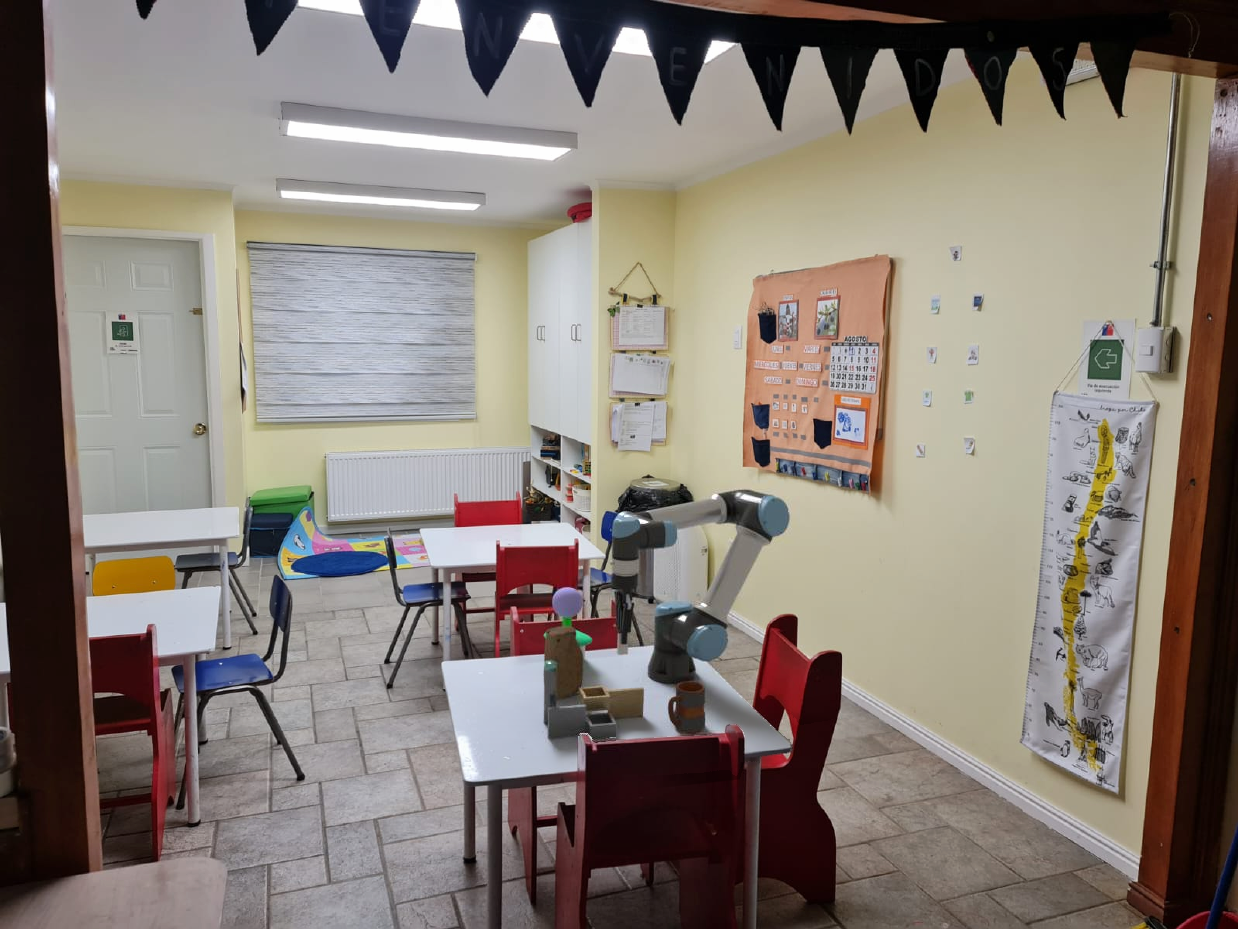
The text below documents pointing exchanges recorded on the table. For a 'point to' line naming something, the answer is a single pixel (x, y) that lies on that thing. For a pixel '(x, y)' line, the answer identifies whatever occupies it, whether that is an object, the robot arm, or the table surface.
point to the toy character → (570, 612)
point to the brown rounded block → (565, 659)
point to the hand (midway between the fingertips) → (622, 653)
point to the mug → (688, 707)
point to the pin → (549, 687)
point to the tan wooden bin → (613, 700)
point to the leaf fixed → (579, 723)
